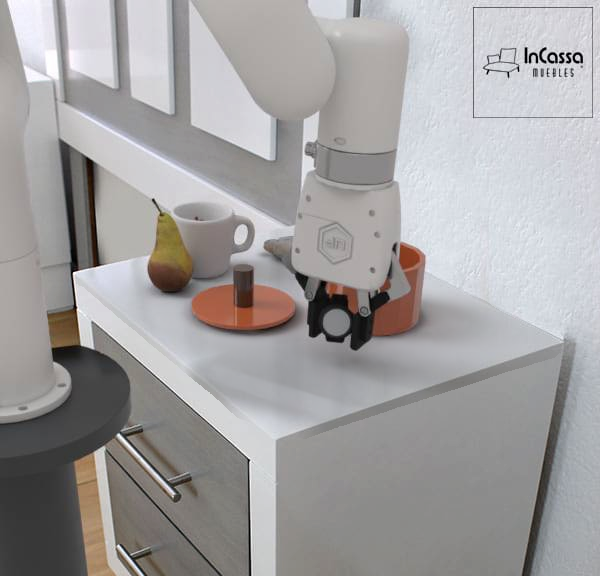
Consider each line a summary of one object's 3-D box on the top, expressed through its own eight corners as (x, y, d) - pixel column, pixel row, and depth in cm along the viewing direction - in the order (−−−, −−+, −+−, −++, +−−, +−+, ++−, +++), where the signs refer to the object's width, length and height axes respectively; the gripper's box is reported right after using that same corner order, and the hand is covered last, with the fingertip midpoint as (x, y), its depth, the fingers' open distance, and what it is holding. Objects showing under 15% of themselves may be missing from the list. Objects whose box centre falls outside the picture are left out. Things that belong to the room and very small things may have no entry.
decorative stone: (270, 248, 125) (271, 224, 123) (379, 263, 121) (381, 239, 119) (256, 263, 120) (256, 238, 118) (368, 279, 116) (371, 254, 114)
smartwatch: (309, 344, 94) (313, 299, 91) (331, 327, 97) (335, 283, 95) (345, 354, 92) (349, 309, 89) (366, 336, 96) (371, 293, 93)
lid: (260, 344, 100) (261, 297, 96) (170, 318, 104) (168, 272, 101) (313, 306, 109) (315, 262, 105) (228, 284, 113) (228, 241, 110)
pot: (394, 344, 101) (401, 281, 97) (305, 320, 105) (308, 259, 101) (433, 309, 109) (440, 250, 105) (349, 288, 114) (353, 231, 110)
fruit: (199, 295, 110) (197, 198, 104) (153, 300, 108) (147, 201, 102) (189, 278, 114) (185, 184, 108) (144, 282, 113) (138, 187, 106)
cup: (244, 255, 122) (244, 197, 117) (263, 277, 116) (264, 216, 111) (166, 263, 118) (163, 203, 114) (182, 286, 112) (179, 224, 108)
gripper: (258, 155, 85) (251, 330, 95) (422, 190, 79) (396, 375, 89) (297, 140, 91) (287, 307, 101) (452, 172, 84) (425, 348, 94)
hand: (338, 337), depth 95 cm, fingers closed on smartwatch, 4 cm apart
